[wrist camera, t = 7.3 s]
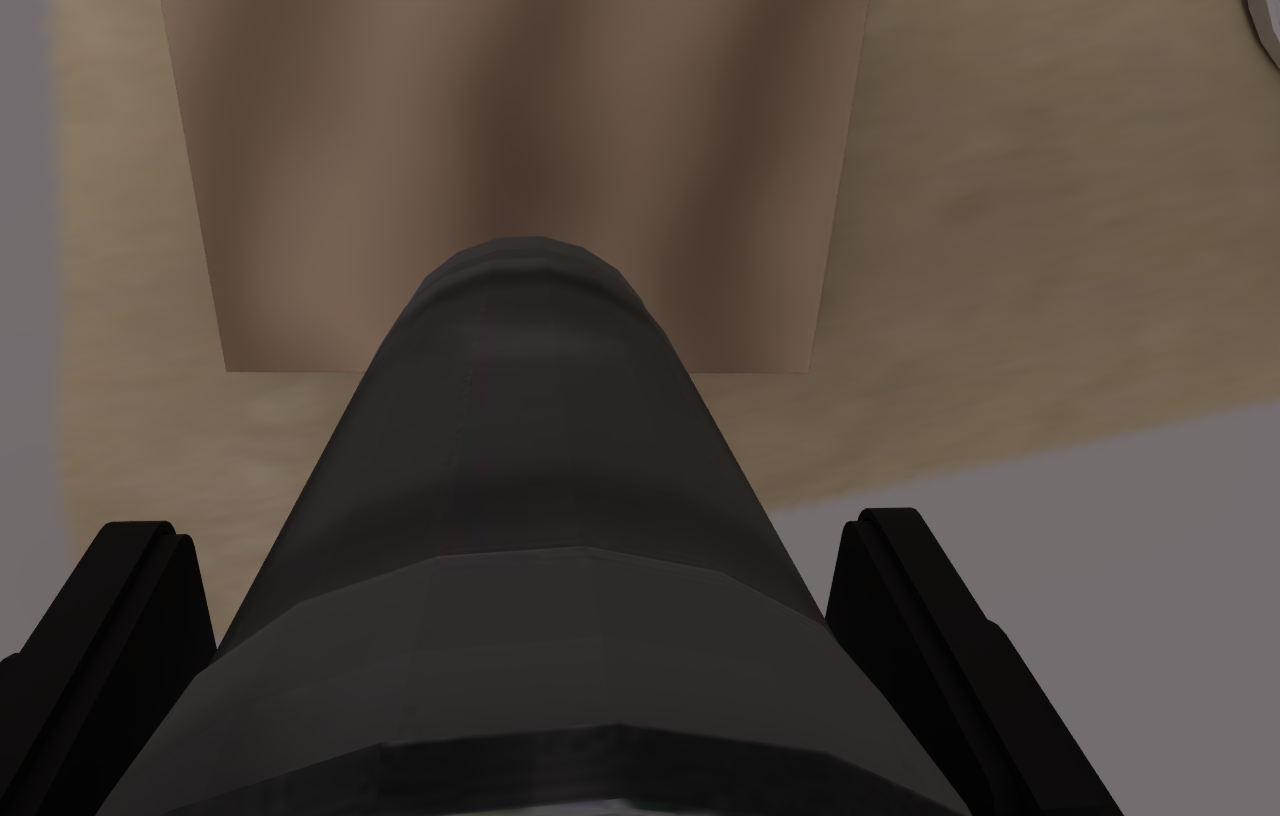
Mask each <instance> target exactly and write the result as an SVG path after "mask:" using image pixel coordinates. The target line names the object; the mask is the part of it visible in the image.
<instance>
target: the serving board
mask: <svg viewBox="0 0 1280 816" xmlns="http://www.w3.org/2000/svg"><path fill="white" fill-rule="evenodd" d="M869 1H870V0H161V5H162V10H163V16H164V22H165V27H166V33H167V38H168V44H169V50H170V55H171V61H172V67H173V72H174V78H175V84H176V89H177V95H178V101H179V106H180V112H181V118H182V123H183V129H184V135H185V140H186V146H187V152H188V157H189V163H190V169H191V174H192V180H193V185H194V191H195V197H196V202H197V208H198V214H199V219H200V225H201V231H202V236H203V242H204V248H205V253H206V259H207V265H208V270H209V276H210V282H211V287H212V293H213V299H214V304H215V310H216V316H217V321H218V327H219V333H220V338H221V344H222V349H223V355H224V361H225V366H226V372H366V371H367V369H368V367H369V365H370V363H371V361H372V359H373V358H374V356H375V354H376V352H377V350H378V348H379V346H380V345H381V343H382V342H383V340H384V339H385V337H386V335H387V334H388V332H389V331H390V329H391V328H392V326H393V325H394V323H395V321H396V320H397V318H398V317H399V315H400V314H401V312H402V311H403V309H404V307H405V306H407V305H408V303H409V301H410V300H411V298H412V297H413V295H414V294H415V292H416V291H417V289H418V287H419V286H420V284H421V283H422V281H423V280H424V278H425V277H426V276H427V275H429V274H430V273H431V272H433V271H434V270H435V269H436V268H438V267H439V266H440V265H442V264H443V263H444V262H445V261H447V260H448V259H449V258H451V257H452V256H453V255H454V254H456V253H457V252H459V251H462V250H465V249H468V248H470V247H473V246H476V245H479V244H482V243H484V242H487V241H490V240H493V239H496V238H502V237H529V236H543V237H547V238H551V239H555V240H558V241H562V242H566V243H569V244H573V245H577V246H580V247H584V248H585V249H587V250H588V251H590V252H591V253H593V254H594V255H596V256H598V257H599V258H601V259H602V260H604V261H605V262H607V263H608V264H610V265H611V266H613V267H615V268H616V269H618V270H619V272H620V273H621V274H622V275H623V277H624V278H625V279H626V280H627V282H628V283H629V284H630V285H631V287H632V288H633V289H634V290H635V292H636V293H637V294H638V295H639V297H640V298H641V299H642V301H643V303H644V306H645V308H646V309H647V311H648V312H649V313H650V314H651V316H652V317H653V318H654V319H655V321H656V322H657V323H658V324H659V326H660V327H661V328H662V329H663V330H664V332H665V333H666V335H667V337H668V339H669V340H670V342H671V344H672V346H673V348H674V349H675V351H676V353H677V355H678V357H679V358H680V360H681V362H682V364H683V365H684V367H685V369H686V371H687V373H809V368H810V362H811V356H812V350H813V343H814V337H815V331H816V325H817V319H818V313H819V307H820V301H821V295H822V288H823V282H824V276H825V270H826V264H827V258H828V252H829V246H830V239H831V233H832V227H833V221H834V215H835V209H836V203H837V197H838V191H839V184H840V178H841V172H842V166H843V160H844V154H845V148H846V142H847V135H848V129H849V123H850V117H851V111H852V105H853V99H854V93H855V87H856V80H857V74H858V68H859V62H860V56H861V50H862V44H863V38H864V31H865V25H866V19H867V13H868V7H869Z"/></svg>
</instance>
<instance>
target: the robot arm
mask: <svg viewBox="0 0 1280 816" xmlns="http://www.w3.org/2000/svg"><path fill="white" fill-rule="evenodd" d="M1248 6H1249V10H1250V13H1251V16H1252V19H1253V21H1254V24H1255V27H1256V29H1257V32H1258V35H1259V38H1260V40H1261V43H1262V44H1263V46H1264V47H1265V49H1266V50H1267V52H1268V53H1269V55H1270V56H1271V57H1272V59H1273V60H1274V62H1275V63H1276V65H1277V66H1278V68H1279V69H1280V0H1248ZM825 620H826V622H827V624H828V626H829V628H830V629H831V631H832V633H833V635H834V637H835V638H836V640H837V642H838V644H839V645H840V646H841V647H842V649H843V650H844V651H845V652H846V653H847V654H848V655H849V657H850V658H851V659H852V660H853V661H854V662H855V663H856V665H857V666H858V667H859V668H860V669H861V670H862V671H863V673H864V674H865V675H866V676H867V677H868V678H869V680H870V681H871V682H872V683H873V684H874V685H875V686H876V688H877V689H878V690H879V691H880V692H881V693H882V694H883V696H884V697H885V698H886V699H887V701H888V702H889V703H890V705H891V706H892V707H893V709H894V710H895V711H896V713H897V714H898V715H899V717H900V718H901V719H902V721H903V722H904V723H905V725H906V726H907V727H908V728H909V730H910V731H911V732H912V734H913V735H914V736H915V738H916V739H917V740H918V742H919V743H920V744H921V746H922V747H923V748H924V750H925V751H926V752H927V754H928V755H929V756H930V757H931V759H932V760H933V761H934V763H935V764H936V765H937V767H938V768H939V769H940V771H941V772H942V773H943V775H944V776H945V777H946V779H947V780H948V781H949V783H950V784H951V785H952V787H953V788H954V789H955V790H956V792H957V793H958V794H959V796H960V797H961V798H962V800H963V801H964V802H965V804H966V805H967V807H968V809H969V811H970V813H971V815H972V816H1124V815H1123V813H1122V812H1121V810H1120V809H1119V807H1118V806H1117V804H1116V802H1115V801H1114V799H1113V798H1112V796H1111V795H1110V793H1109V792H1108V790H1107V789H1106V787H1105V786H1104V784H1103V782H1102V781H1101V780H1100V778H1099V776H1098V775H1097V773H1096V772H1095V770H1094V769H1093V767H1092V766H1091V764H1090V763H1089V761H1088V759H1087V758H1086V757H1085V755H1084V753H1083V752H1082V750H1081V749H1080V747H1079V746H1078V744H1077V742H1076V741H1075V739H1074V738H1073V736H1072V735H1071V733H1070V732H1069V730H1068V729H1067V727H1066V726H1065V724H1064V723H1063V721H1062V719H1061V718H1060V716H1059V715H1058V713H1057V712H1056V710H1055V709H1054V707H1053V706H1052V704H1051V703H1050V701H1049V699H1048V698H1047V696H1046V695H1045V693H1044V692H1043V690H1042V689H1041V687H1040V686H1039V684H1038V683H1037V681H1036V680H1035V678H1034V676H1033V675H1032V673H1031V672H1030V670H1029V669H1028V667H1027V666H1026V664H1025V663H1024V661H1023V660H1022V658H1021V656H1020V655H1019V653H1018V652H1017V650H1016V649H1015V647H1014V646H1013V644H1012V643H1011V641H1010V640H1009V638H1008V637H1007V635H1006V634H1005V633H1004V632H1003V630H1002V629H1001V628H1000V627H999V626H998V625H997V624H995V623H994V622H992V621H990V620H987V618H986V617H985V615H984V613H983V612H982V610H981V609H980V607H979V606H978V604H977V603H976V601H975V599H974V598H973V596H972V595H971V593H970V592H969V590H968V588H967V587H966V585H965V584H964V582H963V581H962V579H961V577H960V576H959V574H958V573H957V571H956V570H955V568H954V567H953V565H952V563H951V562H950V560H949V559H948V557H947V556H946V554H945V552H944V551H943V549H942V548H941V546H940V545H939V543H938V542H937V540H936V538H935V537H934V535H933V534H932V532H931V531H930V529H929V527H928V526H927V524H926V523H925V521H924V520H923V518H922V516H921V515H920V514H919V512H918V511H917V510H916V509H913V508H866V509H864V510H862V512H861V513H860V515H859V517H858V521H849V522H847V523H846V524H845V526H844V528H843V532H842V537H841V541H840V547H839V551H838V557H837V561H836V566H835V571H834V576H833V582H832V586H831V591H830V596H829V601H828V606H827V611H826V616H825ZM216 651H217V647H216V643H215V638H214V634H213V629H212V624H211V620H210V615H209V611H208V606H207V601H206V597H205V592H204V588H203V583H202V578H201V574H200V569H199V565H198V560H197V555H196V551H195V546H194V543H193V540H192V538H191V537H190V536H189V535H187V534H176V532H175V529H174V527H173V526H172V524H171V523H170V522H167V521H126V522H110V523H107V524H105V525H104V526H103V527H102V529H101V530H100V531H99V533H98V534H97V536H96V537H95V539H94V540H93V542H92V543H91V545H90V546H89V548H88V549H87V551H86V552H85V554H84V555H83V557H82V558H81V560H80V561H79V563H78V565H77V566H76V568H75V569H74V571H73V572H72V574H71V575H70V577H69V578H68V580H67V581H66V583H65V584H64V586H63V587H62V589H61V590H60V592H59V593H58V595H57V596H56V598H55V600H54V601H53V602H52V604H51V606H50V607H49V609H48V610H47V612H46V613H45V615H44V616H43V618H42V619H41V621H40V622H39V624H38V625H37V627H36V628H35V630H34V631H33V633H32V634H31V636H30V637H29V639H28V640H27V642H26V643H25V645H24V647H23V648H22V650H21V651H20V653H14V654H12V655H10V656H8V657H7V658H5V659H3V660H2V661H1V662H0V816H95V815H96V813H97V812H98V810H99V809H100V807H101V806H102V804H103V803H104V801H105V800H106V798H107V797H108V795H109V794H110V793H111V791H112V790H113V789H114V787H115V786H116V784H117V783H118V782H119V780H120V779H121V778H122V776H123V775H124V773H125V772H126V771H127V769H128V768H129V767H130V765H131V764H132V762H133V761H134V760H135V758H136V757H137V756H138V754H139V753H140V752H141V750H142V749H143V747H144V746H145V745H146V743H147V742H148V741H149V739H150V738H151V736H152V735H153V734H154V732H155V731H156V730H157V728H158V727H159V725H160V724H161V723H162V721H163V720H164V719H165V717H166V716H167V715H168V713H169V712H170V710H171V709H172V708H173V706H174V705H175V704H176V702H177V701H178V699H179V698H180V697H181V695H182V694H183V693H184V691H185V690H186V688H187V687H188V686H189V684H190V683H191V682H192V680H193V679H194V678H195V676H196V675H197V674H199V673H200V672H202V671H203V670H204V669H206V668H207V667H208V666H209V664H210V662H211V660H212V658H213V656H214V655H215V653H216Z"/></svg>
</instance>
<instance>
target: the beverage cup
mask: <svg viewBox="0 0 1280 816" xmlns="http://www.w3.org/2000/svg"><path fill="white" fill-rule="evenodd" d="M95 816H972V815H971V813H970V811H969V809H968V807H967V805H966V804H965V802H964V801H963V800H962V798H961V797H960V796H959V794H958V793H957V792H956V790H955V789H954V788H953V787H952V785H951V784H950V783H949V781H948V780H947V779H946V777H945V776H944V775H943V773H942V772H941V771H940V769H939V768H938V767H937V765H936V764H935V763H934V761H933V760H932V759H931V757H930V756H929V755H928V754H927V752H926V751H925V750H924V748H923V747H922V746H921V744H920V743H919V742H918V740H917V739H916V738H915V736H914V735H913V734H912V732H911V731H910V730H909V728H908V727H907V726H906V725H905V723H904V722H903V721H902V719H901V718H900V717H899V715H898V714H897V713H896V711H895V710H894V709H893V707H892V706H891V705H890V703H889V702H888V701H887V699H886V698H885V697H884V696H883V694H882V693H881V692H880V691H879V690H878V689H877V688H876V686H875V685H874V684H873V683H872V682H871V681H870V680H869V678H868V677H867V676H866V675H865V674H864V673H863V671H862V670H861V669H860V668H859V667H858V666H857V665H856V663H855V662H854V661H853V660H852V659H851V658H850V657H849V655H848V654H847V653H846V652H845V651H844V650H843V649H842V647H841V646H840V645H839V644H838V642H837V640H836V638H835V637H834V635H833V633H832V631H831V629H830V628H829V626H828V624H827V622H826V620H825V619H824V617H823V615H822V613H821V611H820V610H819V608H818V606H817V604H816V602H815V601H814V599H813V597H812V595H811V593H810V592H809V590H808V588H807V586H806V584H805V583H804V581H803V579H802V577H801V575H800V574H799V572H798V570H797V568H796V567H795V565H794V564H793V561H792V559H791V558H790V556H789V554H788V552H787V550H786V549H785V547H784V545H783V543H782V542H781V540H780V538H779V536H778V534H777V532H776V531H775V529H774V527H773V525H772V523H771V522H770V520H769V518H768V516H767V514H766V513H765V511H764V509H763V507H762V505H761V504H760V502H759V500H758V498H757V497H756V495H755V493H754V491H753V489H752V488H751V486H750V484H749V482H748V480H747V479H746V477H745V475H744V473H743V471H742V470H741V468H740V466H739V464H738V462H737V461H736V459H735V457H734V455H733V453H732V452H731V450H730V448H729V446H728V444H727V443H726V441H725V439H724V437H723V435H722V434H721V432H720V430H719V428H718V427H717V425H716V423H715V421H714V419H713V418H712V416H711V414H710V412H709V410H708V409H707V407H706V405H705V403H704V401H703V400H702V398H701V396H700V394H699V392H698V391H697V389H696V387H695V385H694V383H693V382H692V380H691V378H690V376H689V374H688V373H687V371H686V369H685V367H684V365H683V364H682V362H681V360H680V358H679V357H678V355H677V353H676V351H675V349H674V348H673V346H672V344H671V342H670V340H669V339H668V337H667V335H666V333H665V332H664V330H663V329H662V328H661V327H660V326H659V324H658V323H657V322H656V321H655V319H654V318H653V317H652V316H651V314H650V313H649V312H648V311H647V309H646V308H645V306H644V303H643V301H642V299H641V298H640V297H639V295H638V294H637V293H636V292H635V290H634V289H633V288H632V287H631V285H630V284H629V283H628V282H627V280H626V279H625V278H624V277H623V275H622V274H621V273H620V272H619V270H618V269H616V268H615V267H613V266H611V265H610V264H608V263H607V262H605V261H604V260H602V259H601V258H599V257H598V256H596V255H594V254H593V253H591V252H590V251H588V250H587V249H585V248H584V247H580V246H577V245H573V244H569V243H566V242H562V241H558V240H555V239H551V238H547V237H543V236H529V237H502V238H496V239H493V240H490V241H487V242H484V243H482V244H479V245H476V246H473V247H470V248H468V249H465V250H462V251H459V252H457V253H456V254H454V255H453V256H452V257H451V258H449V259H448V260H447V261H445V262H444V263H443V264H442V265H440V266H439V267H438V268H436V269H435V270H434V271H433V272H431V273H430V274H429V275H427V276H426V277H425V278H424V280H423V281H422V283H421V284H420V286H419V287H418V289H417V291H416V292H415V294H414V295H413V297H412V298H411V300H410V301H409V303H408V305H407V306H405V307H404V309H403V311H402V312H401V314H400V315H399V317H398V318H397V320H396V321H395V323H394V325H393V326H392V328H391V329H390V331H389V332H388V334H387V335H386V337H385V339H384V340H383V342H382V343H381V345H380V346H379V348H378V350H377V352H376V354H375V356H374V358H373V359H372V361H371V363H370V365H369V367H368V369H367V371H366V373H365V374H364V376H363V378H362V380H361V382H360V384H359V386H358V387H357V389H356V391H355V393H354V395H353V397H352V399H351V401H350V402H349V404H348V406H347V408H346V410H345V412H344V414H343V416H342V417H341V419H340V421H339V423H338V425H337V427H336V429H335V430H334V432H333V434H332V436H331V438H330V440H329V442H328V444H327V445H326V447H325V449H324V451H323V453H322V455H321V457H320V458H319V460H318V462H317V464H316V466H315V468H314V470H313V472H312V473H311V475H310V477H309V479H308V481H307V483H306V485H305V486H304V488H303V490H302V492H301V494H300V496H299V498H298V500H297V501H296V503H295V505H294V507H293V509H292V511H291V513H290V515H289V516H288V518H287V520H286V522H285V524H284V526H283V528H282V529H281V531H280V533H279V535H278V537H277V539H276V541H275V543H274V544H273V546H272V548H271V550H270V552H269V554H268V556H267V557H266V559H265V561H264V563H263V565H262V567H261V569H260V571H259V572H258V574H257V576H256V578H255V580H254V582H253V584H252V585H251V587H250V589H249V591H248V593H247V595H246V597H245V599H244V600H243V602H242V604H241V606H240V608H239V610H238V612H237V613H236V615H235V617H234V619H233V621H232V623H231V625H230V627H229V628H228V630H227V632H226V634H225V636H224V638H223V640H222V642H221V643H220V645H219V647H218V649H217V651H216V653H215V655H214V656H213V658H212V660H211V662H210V664H209V666H208V667H207V668H206V669H204V670H203V671H202V672H200V673H199V674H197V675H196V676H195V678H194V679H193V680H192V682H191V683H190V684H189V686H188V687H187V688H186V690H185V691H184V693H183V694H182V695H181V697H180V698H179V699H178V701H177V702H176V704H175V705H174V706H173V708H172V709H171V710H170V712H169V713H168V715H167V716H166V717H165V719H164V720H163V721H162V723H161V724H160V725H159V727H158V728H157V730H156V731H155V732H154V734H153V735H152V736H151V738H150V739H149V741H148V742H147V743H146V745H145V746H144V747H143V749H142V750H141V752H140V753H139V754H138V756H137V757H136V758H135V760H134V761H133V762H132V764H131V765H130V767H129V768H128V769H127V771H126V772H125V773H124V775H123V776H122V778H121V779H120V780H119V782H118V783H117V784H116V786H115V787H114V789H113V790H112V791H111V793H110V794H109V795H108V797H107V798H106V800H105V801H104V803H103V804H102V806H101V807H100V809H99V810H98V812H97V813H96V815H95Z"/></svg>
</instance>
